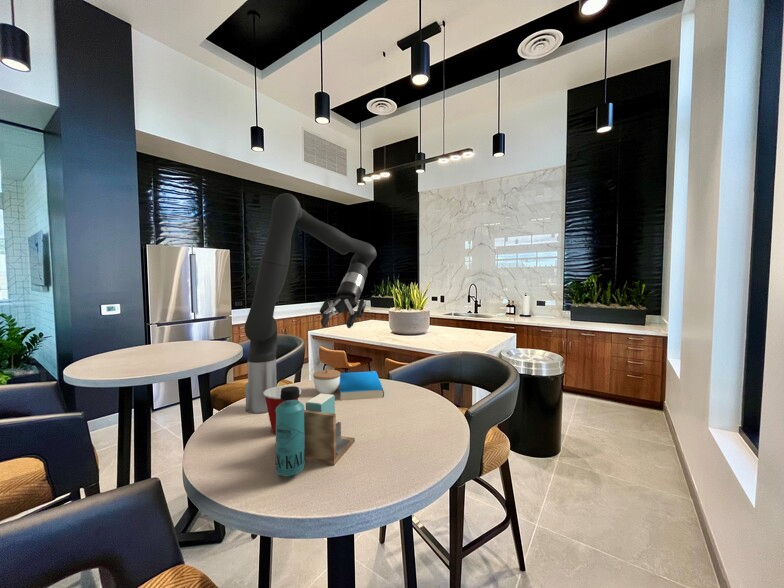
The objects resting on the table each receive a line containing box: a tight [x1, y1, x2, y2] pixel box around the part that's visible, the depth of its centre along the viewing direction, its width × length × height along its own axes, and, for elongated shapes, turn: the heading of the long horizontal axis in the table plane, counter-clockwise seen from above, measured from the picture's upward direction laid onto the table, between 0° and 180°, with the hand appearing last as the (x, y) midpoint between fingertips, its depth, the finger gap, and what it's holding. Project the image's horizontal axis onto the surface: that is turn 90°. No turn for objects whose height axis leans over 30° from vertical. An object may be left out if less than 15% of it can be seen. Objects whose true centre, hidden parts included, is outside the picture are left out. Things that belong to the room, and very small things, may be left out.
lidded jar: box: [312, 368, 341, 395], centre depth 128 cm, size 11×11×9 cm
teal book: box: [305, 393, 336, 414], centre depth 84 cm, size 4×7×12 cm, turn 162°
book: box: [339, 370, 385, 401], centre depth 132 cm, size 17×4×25 cm
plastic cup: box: [263, 385, 302, 435], centre depth 95 cm, size 11×11×12 cm
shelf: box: [304, 409, 356, 466], centre depth 84 cm, size 16×12×12 cm
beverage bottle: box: [274, 385, 306, 477], centre depth 72 cm, size 6×7×20 cm
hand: (335, 326), depth 98 cm, fingers open, 8 cm apart
